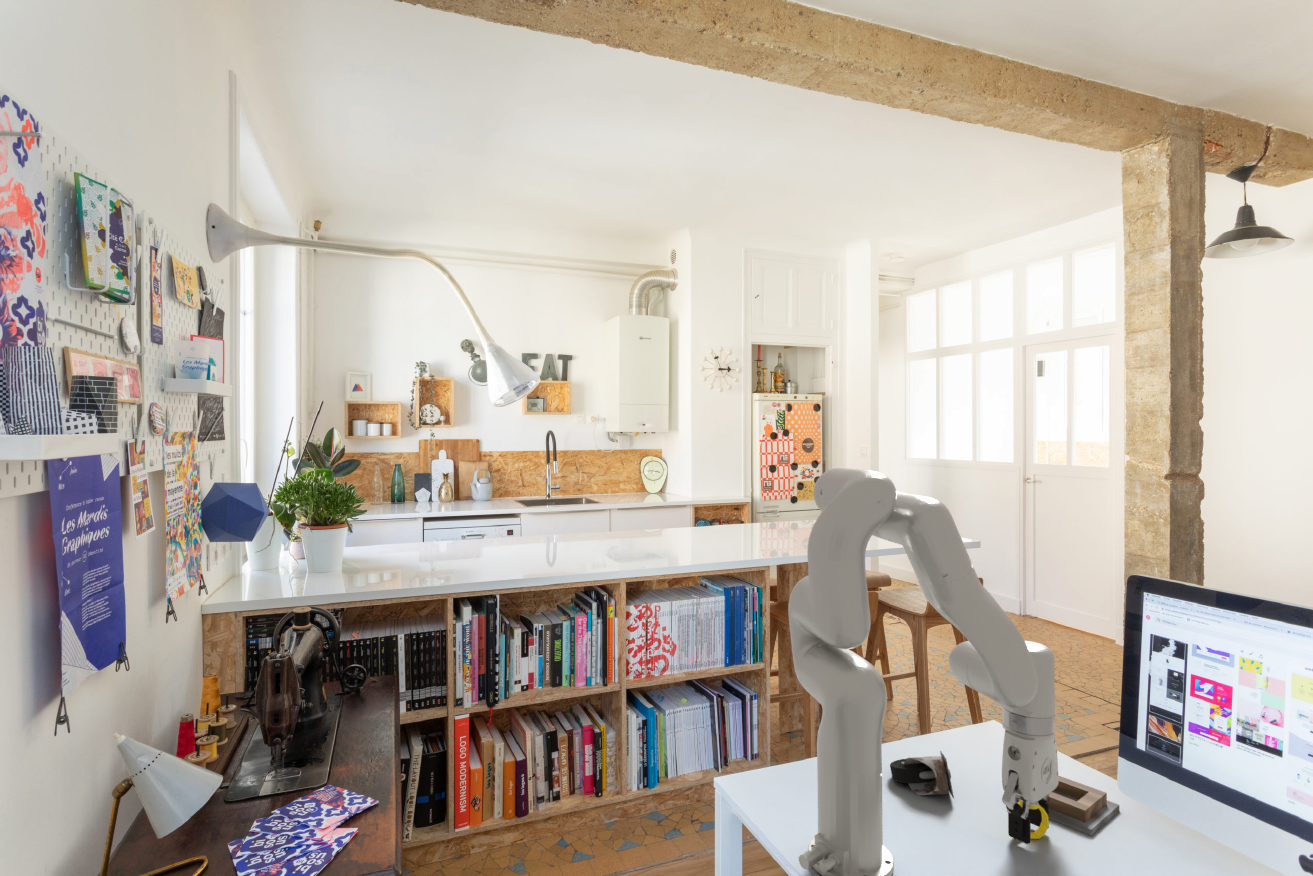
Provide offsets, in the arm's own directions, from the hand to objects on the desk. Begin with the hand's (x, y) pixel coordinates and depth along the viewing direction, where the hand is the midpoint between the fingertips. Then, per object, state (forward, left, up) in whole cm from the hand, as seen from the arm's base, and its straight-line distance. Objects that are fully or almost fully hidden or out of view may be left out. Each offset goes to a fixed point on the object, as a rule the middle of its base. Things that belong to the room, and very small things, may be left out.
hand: (1028, 831), depth 111 cm
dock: (+14, +1, -1) cm, 14 cm away
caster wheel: (+1, +20, -1) cm, 20 cm away
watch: (0, 0, -1) cm, 1 cm away
